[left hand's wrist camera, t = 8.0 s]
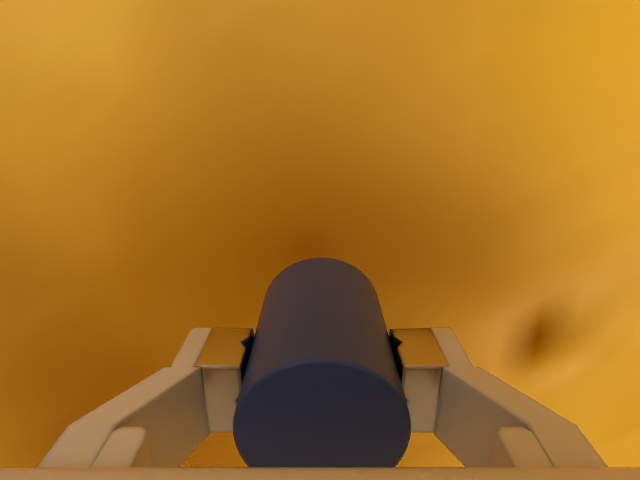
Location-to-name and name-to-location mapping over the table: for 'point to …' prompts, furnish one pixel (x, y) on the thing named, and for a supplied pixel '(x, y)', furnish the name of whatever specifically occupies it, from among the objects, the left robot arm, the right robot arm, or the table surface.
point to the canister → (321, 375)
